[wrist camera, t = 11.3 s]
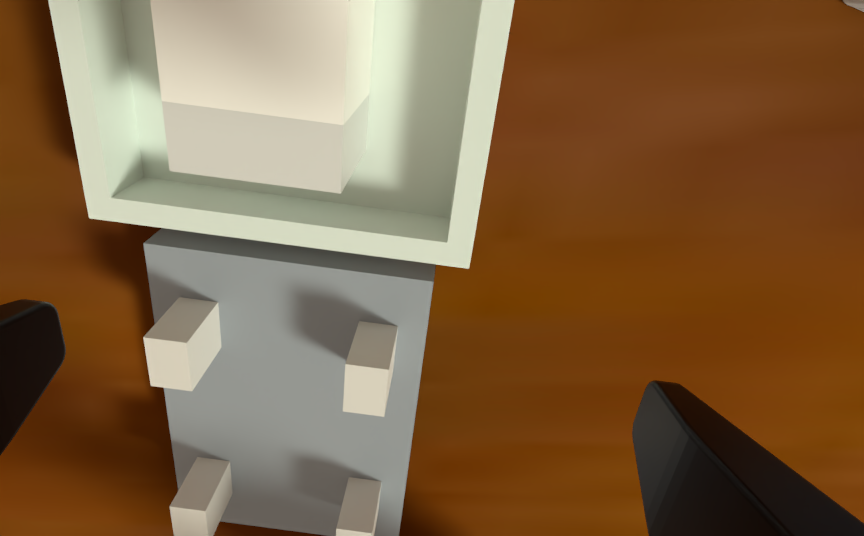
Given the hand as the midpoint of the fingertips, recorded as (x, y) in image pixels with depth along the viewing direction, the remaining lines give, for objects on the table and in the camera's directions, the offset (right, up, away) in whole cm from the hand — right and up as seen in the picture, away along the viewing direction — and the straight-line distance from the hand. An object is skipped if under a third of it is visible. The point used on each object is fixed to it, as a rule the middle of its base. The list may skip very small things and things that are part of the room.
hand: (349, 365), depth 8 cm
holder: (-4, -4, +15) cm, 16 cm away
